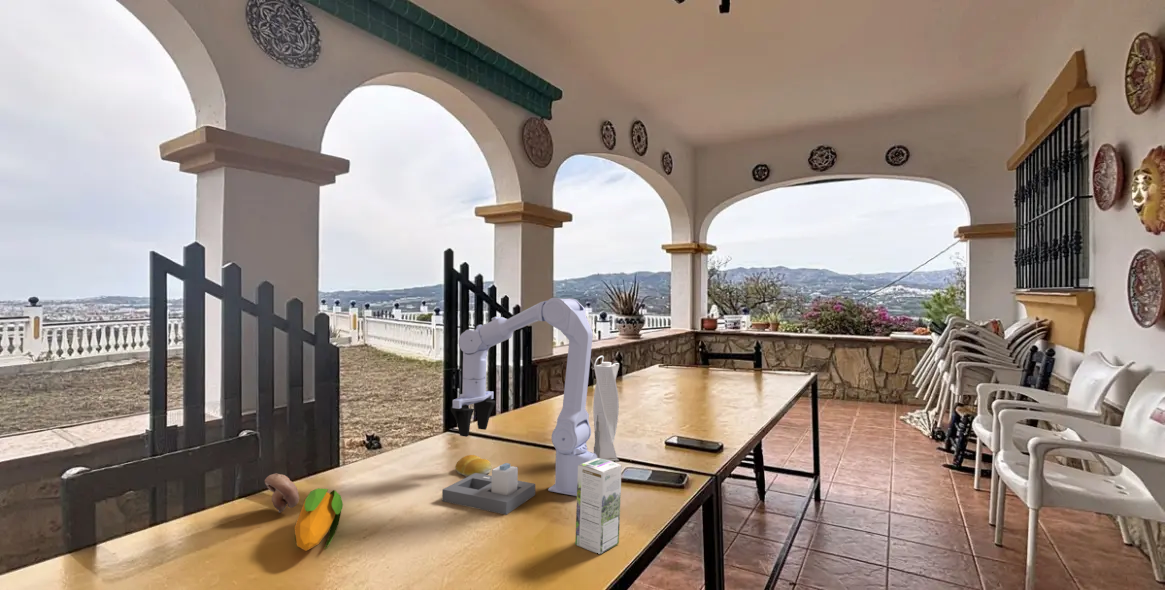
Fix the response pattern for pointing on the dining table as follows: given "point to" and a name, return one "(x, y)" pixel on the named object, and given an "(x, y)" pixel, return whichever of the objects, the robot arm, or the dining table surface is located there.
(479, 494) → the port panel
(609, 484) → the syrup box
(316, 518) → the corn
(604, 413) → the skyscraper
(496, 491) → the plug
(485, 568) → the dining table surface
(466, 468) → the bread roll
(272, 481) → the mushroom
